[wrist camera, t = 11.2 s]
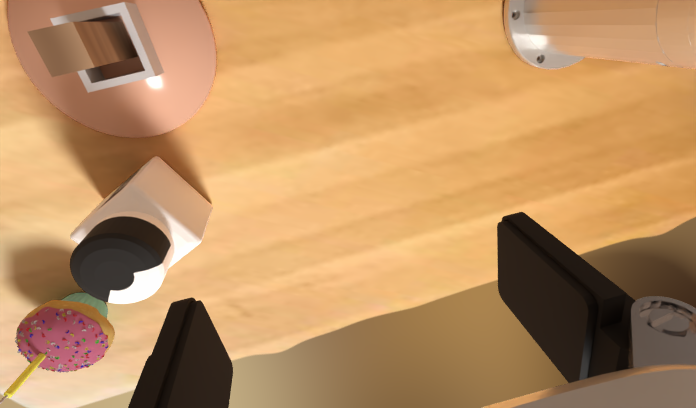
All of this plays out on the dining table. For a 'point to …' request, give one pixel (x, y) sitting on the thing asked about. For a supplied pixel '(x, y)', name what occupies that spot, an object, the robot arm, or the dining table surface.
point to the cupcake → (63, 336)
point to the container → (138, 234)
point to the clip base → (125, 63)
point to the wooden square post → (82, 45)
